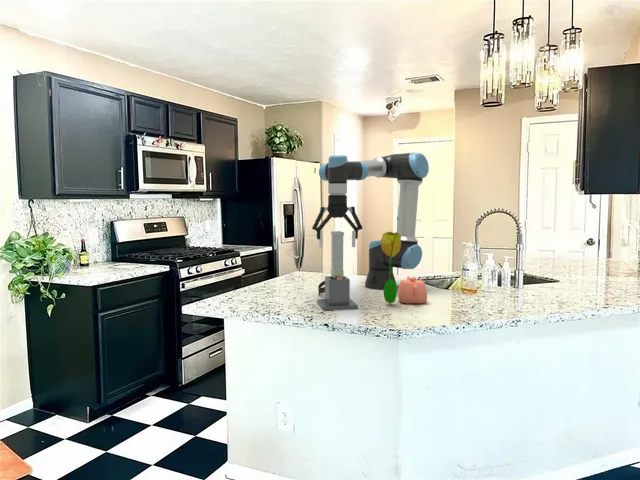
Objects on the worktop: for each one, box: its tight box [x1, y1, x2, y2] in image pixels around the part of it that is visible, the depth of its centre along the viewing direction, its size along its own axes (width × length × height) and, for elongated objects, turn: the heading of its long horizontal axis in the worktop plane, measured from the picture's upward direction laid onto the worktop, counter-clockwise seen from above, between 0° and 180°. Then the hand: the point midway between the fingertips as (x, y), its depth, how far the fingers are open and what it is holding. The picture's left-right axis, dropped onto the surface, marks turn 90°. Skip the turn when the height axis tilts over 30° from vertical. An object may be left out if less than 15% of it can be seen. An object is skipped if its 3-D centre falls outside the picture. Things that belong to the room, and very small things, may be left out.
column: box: [330, 230, 345, 279], centre depth 194 cm, size 4×6×21 cm
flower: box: [380, 231, 401, 306], centre depth 197 cm, size 9×8×30 cm
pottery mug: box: [317, 280, 325, 296], centre depth 217 cm, size 12×10×8 cm
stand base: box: [316, 275, 359, 311], centre depth 195 cm, size 14×14×12 cm
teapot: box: [397, 275, 428, 305], centre depth 203 cm, size 12×18×10 cm, turn 0°
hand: (337, 247), depth 194 cm, fingers open, 13 cm apart
